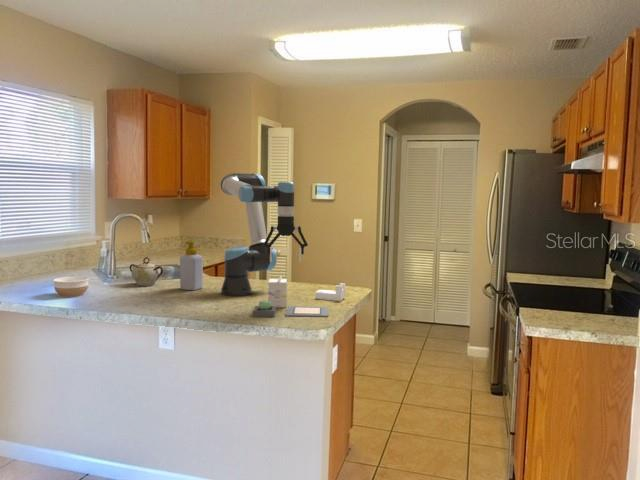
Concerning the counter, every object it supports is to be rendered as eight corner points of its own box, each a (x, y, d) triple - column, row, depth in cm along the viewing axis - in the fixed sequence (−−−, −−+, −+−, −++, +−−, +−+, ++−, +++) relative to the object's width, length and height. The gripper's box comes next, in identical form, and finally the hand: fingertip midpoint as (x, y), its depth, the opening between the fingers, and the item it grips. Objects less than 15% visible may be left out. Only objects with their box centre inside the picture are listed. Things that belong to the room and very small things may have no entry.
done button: (258, 310, 224) (258, 303, 224) (259, 307, 229) (259, 300, 229) (270, 310, 224) (270, 303, 224) (271, 307, 229) (271, 300, 229)
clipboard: (285, 316, 224) (285, 314, 224) (287, 307, 240) (287, 305, 240) (328, 316, 224) (328, 315, 224) (327, 308, 240) (327, 306, 240)
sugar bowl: (169, 283, 294) (169, 256, 292) (155, 288, 279) (155, 259, 278) (137, 281, 298) (137, 254, 296) (122, 286, 283) (121, 258, 282)
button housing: (253, 316, 222) (252, 310, 222) (255, 311, 231) (255, 305, 231) (274, 317, 222) (274, 311, 222) (276, 311, 231) (276, 306, 231)
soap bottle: (179, 289, 276) (178, 241, 273) (189, 286, 284) (189, 240, 282) (193, 291, 273) (193, 242, 270) (203, 288, 281) (203, 240, 278)
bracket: (345, 298, 261) (345, 283, 261) (340, 301, 255) (340, 286, 254) (320, 296, 266) (320, 281, 265) (315, 299, 259) (315, 283, 259)
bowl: (96, 293, 264) (96, 277, 263) (69, 299, 249) (69, 283, 248) (73, 290, 270) (73, 275, 269) (46, 296, 256) (45, 280, 255)
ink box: (268, 303, 248) (268, 275, 246) (286, 303, 248) (286, 275, 247) (268, 307, 239) (268, 278, 238) (286, 307, 240) (287, 278, 238)
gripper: (258, 216, 239) (258, 262, 241) (313, 216, 242) (313, 262, 244) (258, 215, 246) (258, 260, 248) (311, 215, 249) (311, 260, 251)
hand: (285, 261), depth 246 cm, fingers open, 13 cm apart
